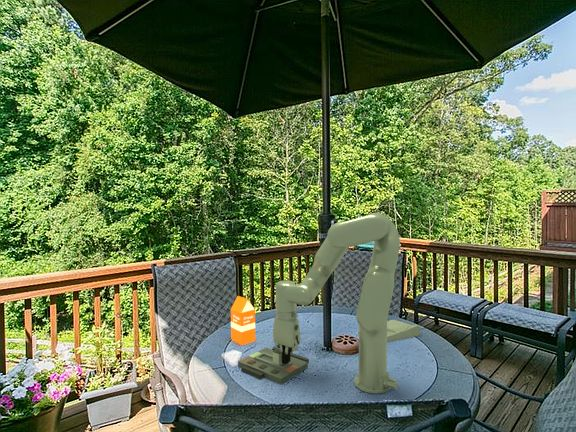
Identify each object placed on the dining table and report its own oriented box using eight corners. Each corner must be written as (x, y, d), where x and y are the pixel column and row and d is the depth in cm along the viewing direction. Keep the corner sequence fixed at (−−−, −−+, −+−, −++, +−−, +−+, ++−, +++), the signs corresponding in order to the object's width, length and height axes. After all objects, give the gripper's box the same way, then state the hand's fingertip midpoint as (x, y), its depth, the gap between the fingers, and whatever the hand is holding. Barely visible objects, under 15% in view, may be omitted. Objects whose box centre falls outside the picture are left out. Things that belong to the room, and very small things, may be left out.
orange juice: (241, 345, 159) (240, 301, 158) (230, 339, 166) (230, 297, 165) (255, 340, 164) (255, 297, 163) (244, 335, 171) (244, 293, 170)
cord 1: (263, 377, 130) (263, 373, 130) (260, 379, 129) (260, 375, 129) (244, 369, 137) (244, 365, 137) (241, 371, 135) (241, 367, 135)
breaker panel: (307, 367, 138) (307, 360, 138) (281, 384, 126) (281, 376, 125) (265, 352, 152) (265, 345, 152) (238, 366, 139) (237, 359, 139)
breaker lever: (283, 363, 137) (283, 350, 137) (278, 366, 135) (278, 353, 134) (278, 360, 139) (277, 348, 139) (272, 363, 137) (272, 350, 136)
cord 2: (308, 362, 142) (308, 358, 142) (306, 364, 141) (306, 360, 140) (274, 350, 153) (274, 347, 153) (272, 352, 152) (272, 348, 152)
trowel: (365, 344, 160) (365, 332, 160) (356, 331, 176) (356, 320, 176) (426, 342, 162) (426, 330, 161) (412, 329, 177) (412, 319, 177)
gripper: (308, 316, 131) (308, 364, 132) (277, 308, 141) (277, 353, 142) (295, 321, 126) (295, 372, 127) (264, 313, 135) (264, 360, 136)
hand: (286, 362), depth 134 cm, fingers closed
